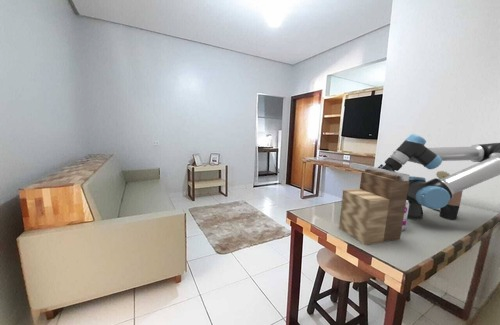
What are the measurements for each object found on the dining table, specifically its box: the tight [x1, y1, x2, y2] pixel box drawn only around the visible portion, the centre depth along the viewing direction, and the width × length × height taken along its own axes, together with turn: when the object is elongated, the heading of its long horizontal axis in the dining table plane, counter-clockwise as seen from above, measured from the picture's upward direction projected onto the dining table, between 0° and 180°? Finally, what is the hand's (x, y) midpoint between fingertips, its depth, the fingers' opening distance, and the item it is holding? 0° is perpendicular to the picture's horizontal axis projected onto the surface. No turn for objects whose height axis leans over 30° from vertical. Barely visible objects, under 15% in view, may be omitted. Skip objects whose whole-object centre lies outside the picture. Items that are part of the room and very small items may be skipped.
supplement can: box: [401, 200, 409, 232], centre depth 104 cm, size 8×8×15 cm
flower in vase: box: [435, 170, 451, 211], centre depth 131 cm, size 13×11×25 cm
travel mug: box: [439, 190, 464, 221], centre depth 118 cm, size 8×8×20 cm
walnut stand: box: [338, 169, 410, 246], centre depth 96 cm, size 16×20×30 cm
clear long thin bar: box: [349, 162, 411, 181], centre depth 99 cm, size 30×3×2 cm, turn 17°
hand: (366, 191), depth 113 cm, fingers open, 12 cm apart
